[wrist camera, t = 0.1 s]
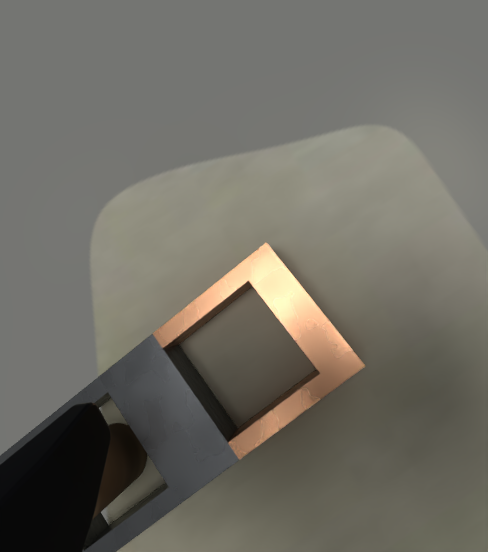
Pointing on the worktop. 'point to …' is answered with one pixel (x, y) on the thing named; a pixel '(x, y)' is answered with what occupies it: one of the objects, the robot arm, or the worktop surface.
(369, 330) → the worktop surface
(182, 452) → the grey copper flat frame
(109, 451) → the walnut peg
